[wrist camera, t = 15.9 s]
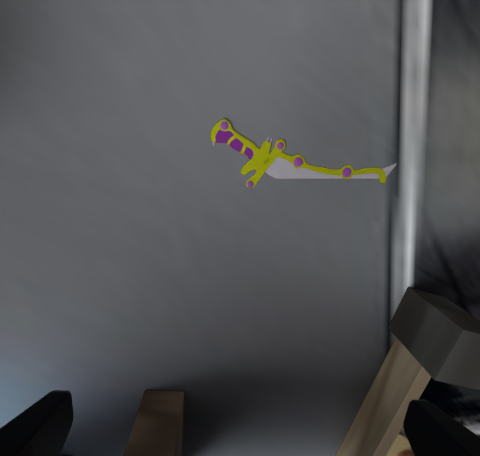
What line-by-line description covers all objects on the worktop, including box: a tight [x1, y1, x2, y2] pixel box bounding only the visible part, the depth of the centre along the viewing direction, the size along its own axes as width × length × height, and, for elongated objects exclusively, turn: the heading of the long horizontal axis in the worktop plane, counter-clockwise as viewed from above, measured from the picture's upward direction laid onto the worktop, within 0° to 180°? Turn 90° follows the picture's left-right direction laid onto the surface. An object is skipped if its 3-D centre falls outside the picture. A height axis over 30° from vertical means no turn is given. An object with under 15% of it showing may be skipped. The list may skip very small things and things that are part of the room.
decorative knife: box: [211, 119, 396, 188], centre depth 18 cm, size 12×1×5 cm
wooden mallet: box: [336, 287, 480, 456], centre depth 20 cm, size 3×17×5 cm, turn 163°
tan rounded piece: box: [386, 429, 414, 456], centre depth 24 cm, size 4×4×2 cm
